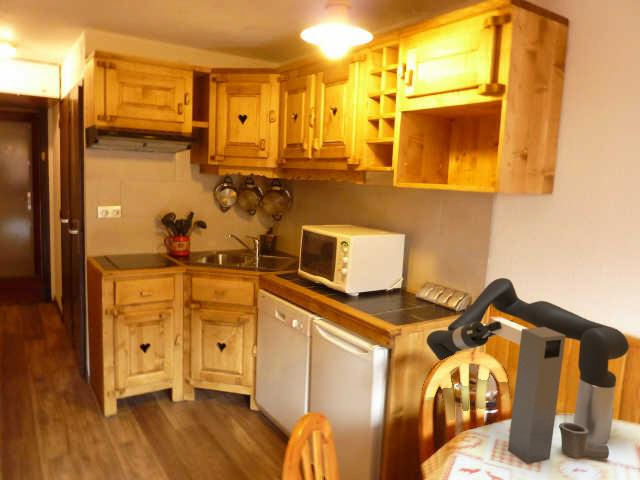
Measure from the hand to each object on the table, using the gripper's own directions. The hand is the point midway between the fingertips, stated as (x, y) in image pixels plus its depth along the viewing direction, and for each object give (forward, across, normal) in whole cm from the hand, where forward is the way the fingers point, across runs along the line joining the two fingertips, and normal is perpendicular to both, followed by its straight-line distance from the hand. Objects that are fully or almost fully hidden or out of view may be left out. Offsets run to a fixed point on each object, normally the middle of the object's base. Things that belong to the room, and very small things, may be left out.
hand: (506, 324), depth 144 cm
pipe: (-1, +14, +38) cm, 40 cm away
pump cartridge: (+1, 0, +4) cm, 4 cm away
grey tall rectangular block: (-5, 0, +35) cm, 35 cm away
